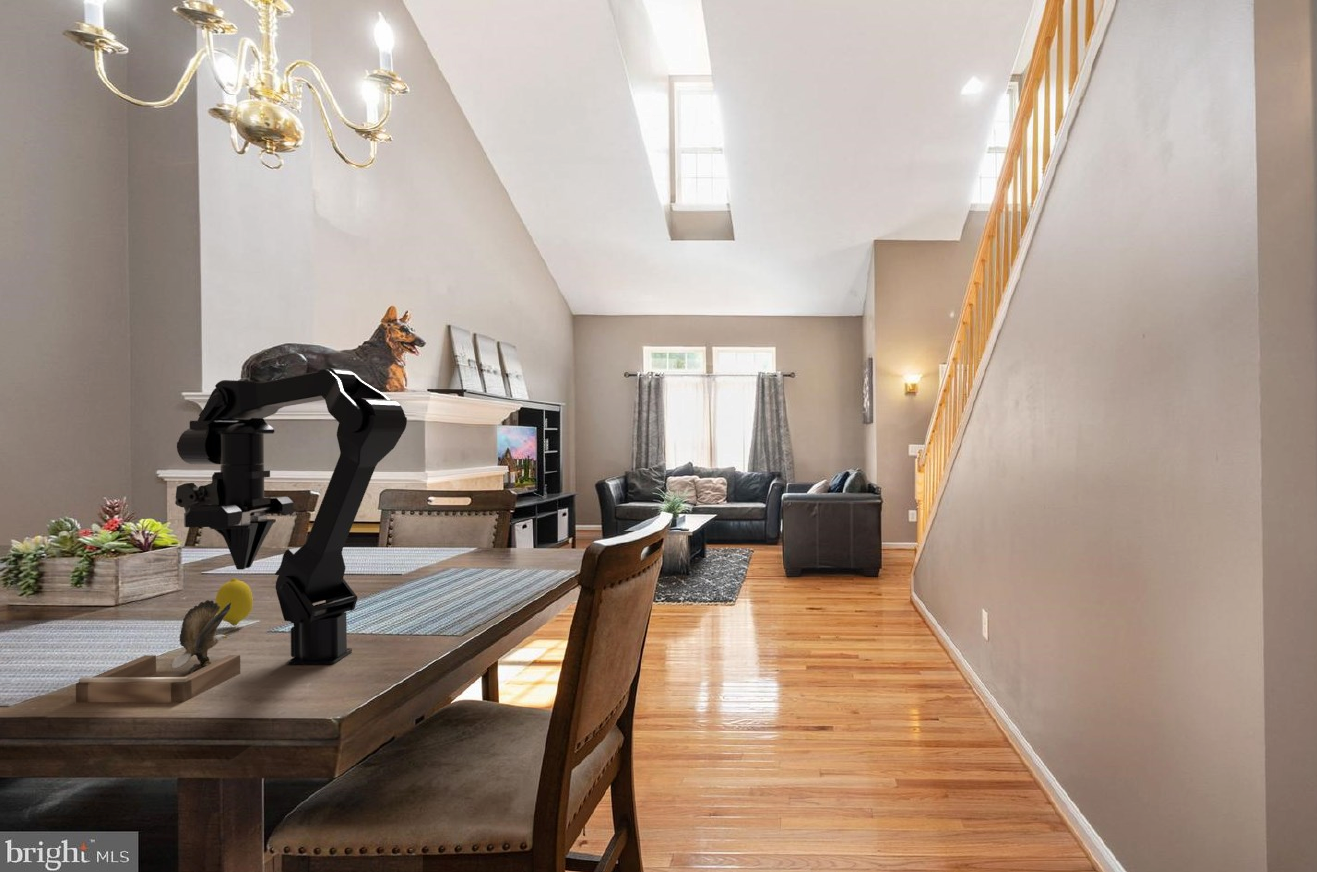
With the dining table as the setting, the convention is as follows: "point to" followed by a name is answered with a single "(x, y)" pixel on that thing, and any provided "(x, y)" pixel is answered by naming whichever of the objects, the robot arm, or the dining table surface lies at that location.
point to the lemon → (235, 600)
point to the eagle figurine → (200, 633)
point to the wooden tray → (153, 682)
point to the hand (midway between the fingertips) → (243, 568)
